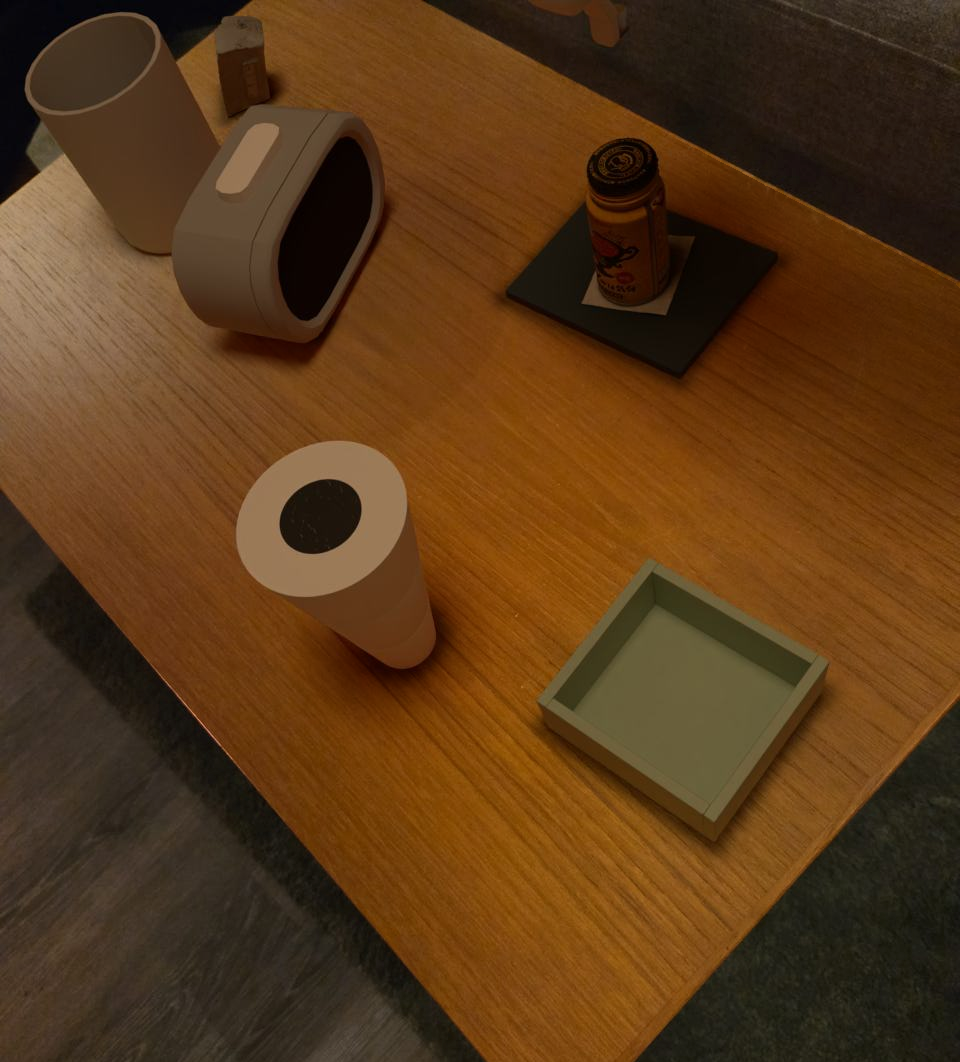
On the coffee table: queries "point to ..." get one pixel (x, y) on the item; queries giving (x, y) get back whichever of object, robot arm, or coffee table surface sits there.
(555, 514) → the coffee table surface
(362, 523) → the cup
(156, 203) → the cup
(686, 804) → the tray
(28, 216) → the coffee table surface
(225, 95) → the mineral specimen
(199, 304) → the alarm clock
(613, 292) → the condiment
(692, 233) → the mat
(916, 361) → the coffee table surface
